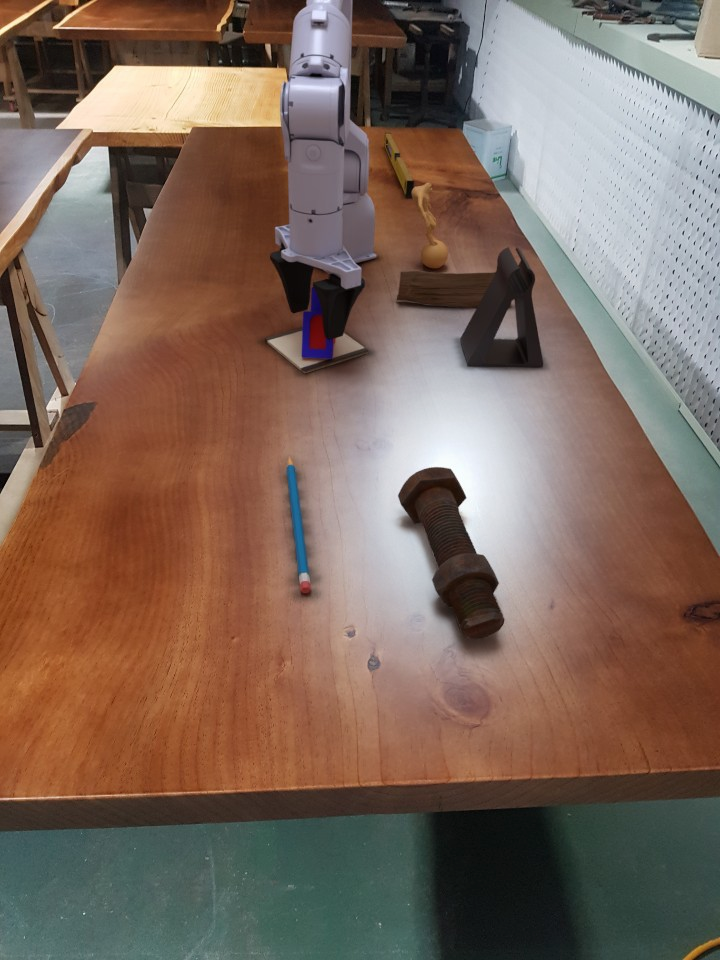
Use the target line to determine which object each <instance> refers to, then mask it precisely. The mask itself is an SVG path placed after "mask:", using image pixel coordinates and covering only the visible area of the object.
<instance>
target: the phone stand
mask: <svg viewBox="0 0 720 960" xmlns="http://www.w3.org/2000/svg"><path fill="white" fill-rule="evenodd" d="M514 250H515V252H516V254H517V255H518V258H519V259H520V261H519V263H518V262H517V261H516V259H515V257H514V254H513V253H512V251H511V248H510V247H509V246H507V247H504V249H502V250H501V251H500V252H499V255H498V256H497V261H496V270H495V272H496V273H495V275H494V277H493V279H492V281H491V283H490V285H489V286H488V288H487V290H486V292H485V294H484V296H483V297H482V299H481V301H480V303H479V305H478V307H476V309H475V310H474V312H473V314H472V316H471V318H470V319H469V322H468V323H467V325H466V327H465V328H464V330H463V332H462V335H461V336H460V339H459V340H460V343H461V347H462V350H463V353H464V356H465V360H466V363H467V365H468V367H504V366H506V368H507V367H510V368H542V367H543V366H544V360H543V359H544V358H543V354H542V347H541V342H540V336H539V331H538V325H537V320H536V319H537V318H536V314H535V307H534V302H533V290H534V289H533V288H534V286H535V283H536V275H535V273H534V271H533V269H532V267H531V266H530V264H529V262H528V260H527V258H526V256H525V254H524V253H523V251H522V249H520V248H519V247H516V248H515V249H514ZM513 301H514V311H515V321H516V333H517V334H516V335H517V338H515V339H507V338H505V339H503V338H502V339H501V338H499V339H498V338H496V336H497V333H498V331H499V330H500V327H501V325H502V323H503V320H504V318H505V316H506V314H507V312H508V310H509V308H510V307H509V306H510V303H511V304H512V302H513Z"/></svg>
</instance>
